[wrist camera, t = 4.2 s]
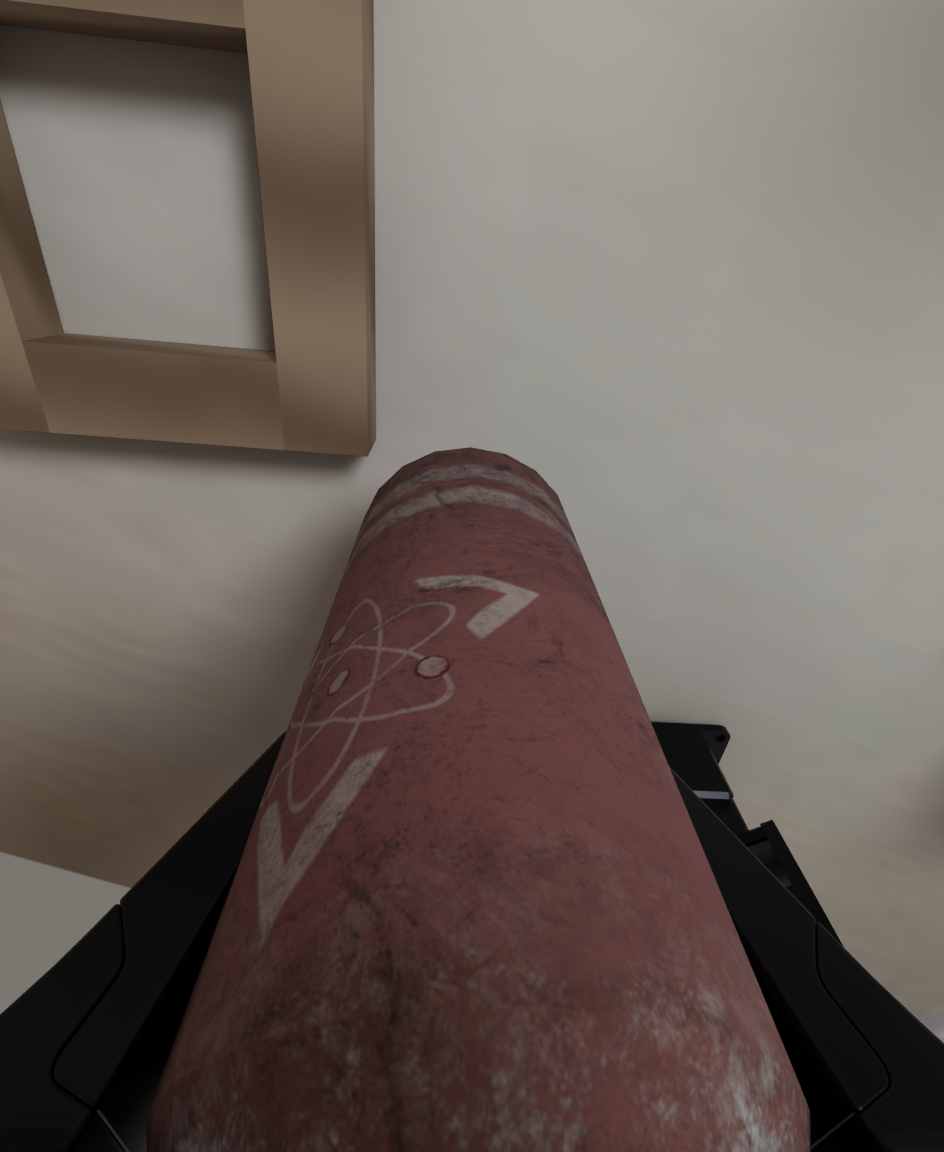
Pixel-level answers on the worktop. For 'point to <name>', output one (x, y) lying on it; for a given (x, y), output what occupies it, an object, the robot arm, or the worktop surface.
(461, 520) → the can
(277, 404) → the socket block
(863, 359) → the worktop surface
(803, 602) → the worktop surface
